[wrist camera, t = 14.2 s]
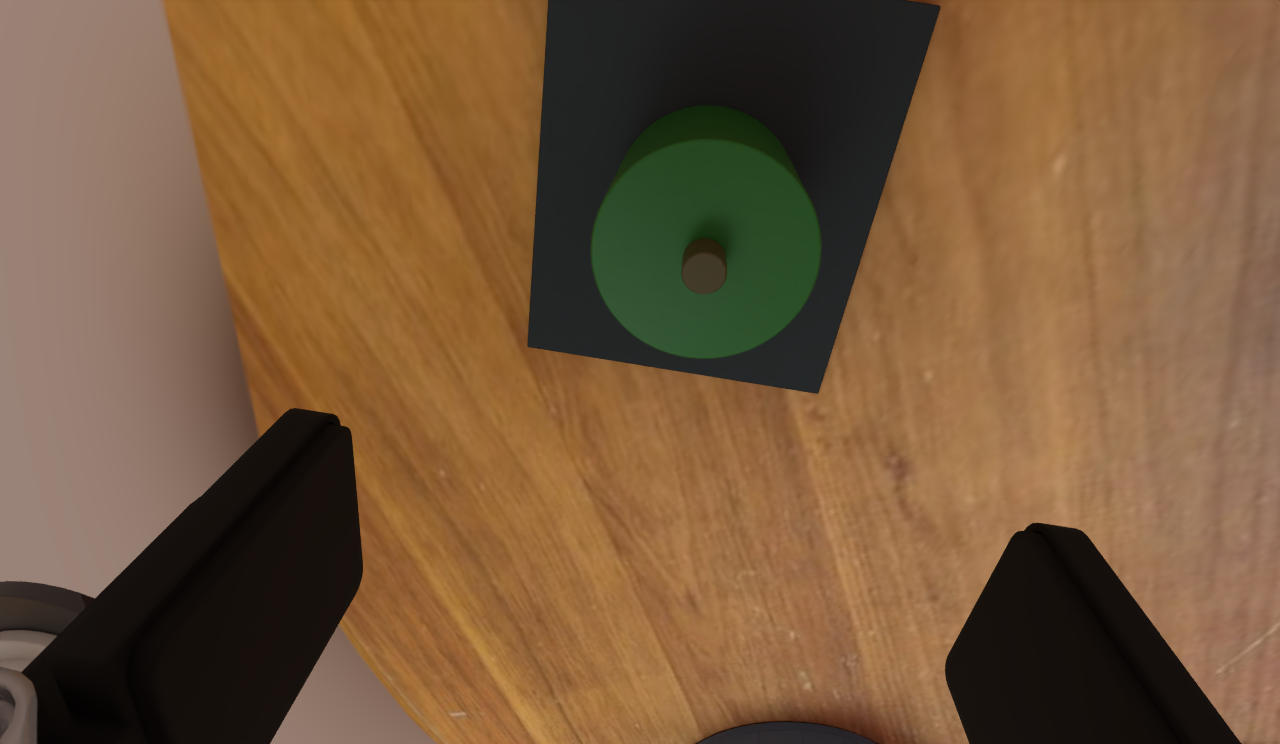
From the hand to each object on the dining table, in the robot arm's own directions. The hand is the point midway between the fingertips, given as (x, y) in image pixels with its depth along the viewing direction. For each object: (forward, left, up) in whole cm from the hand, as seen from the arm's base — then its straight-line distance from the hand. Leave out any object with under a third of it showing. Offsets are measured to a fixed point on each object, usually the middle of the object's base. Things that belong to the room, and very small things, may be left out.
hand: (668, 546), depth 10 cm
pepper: (0, +1, -17) cm, 17 cm away
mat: (0, +1, -17) cm, 17 cm away
